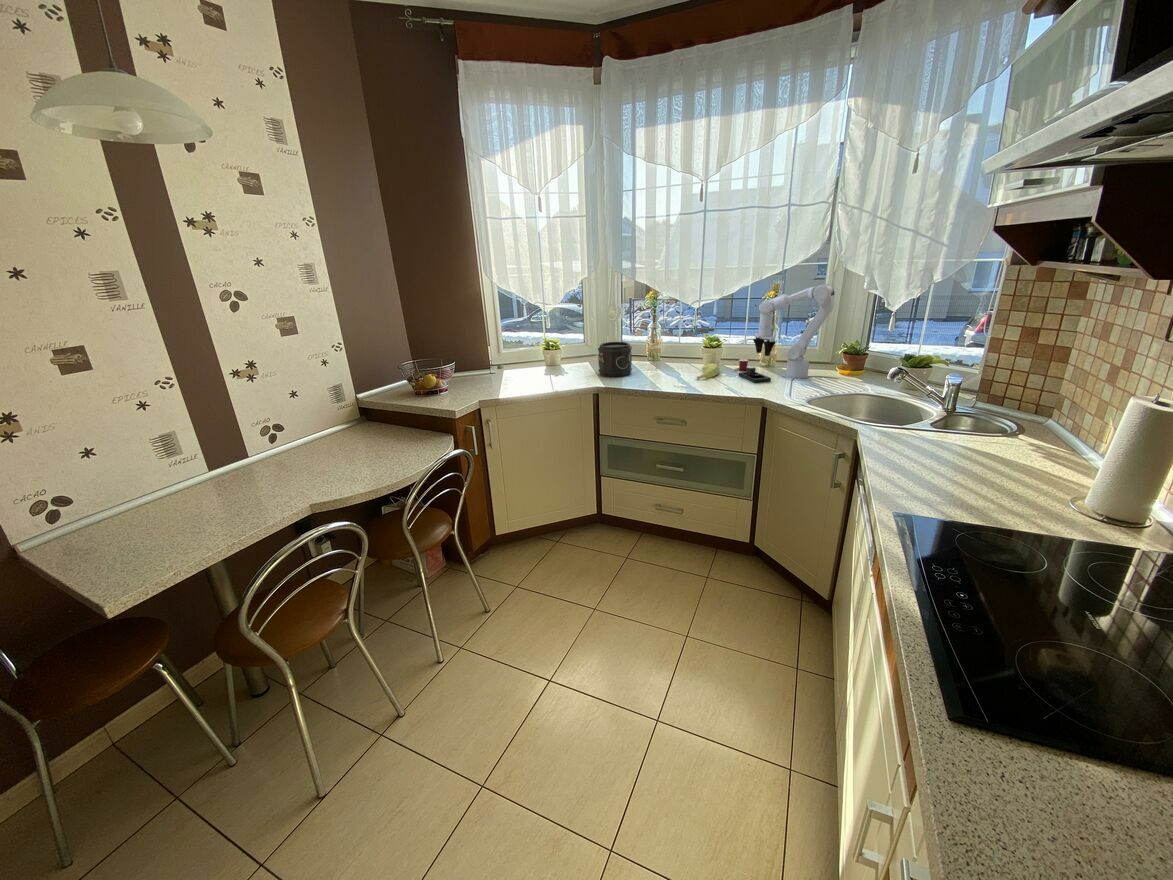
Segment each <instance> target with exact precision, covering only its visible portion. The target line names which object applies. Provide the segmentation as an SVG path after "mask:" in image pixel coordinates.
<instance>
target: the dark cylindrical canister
mask: <svg viewBox="0 0 1173 880" xmlns="http://www.w3.org/2000/svg"><path fill="white" fill-rule="evenodd" d="M632 349H633V347H632V345H631V344H630V343H629V342H626V341H607V342H602V343H600V345H599V347H598V348H597V351H598V354H597V356H598V361H597V362H598V368H599V369H598V372H599V373H600V375H601V376H602V377H604V378H605V377H606V378H623V377H627V376H629V375H630V374H631V371H633V367H632V362H633V359H632V358H633V355H632Z"/></svg>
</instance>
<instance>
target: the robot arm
mask: <svg viewBox="0 0 1173 880" xmlns="http://www.w3.org/2000/svg"><path fill="white" fill-rule="evenodd" d="M835 296H836V291H835V288H834V287H833V286H832V285H831V284H830V283H825V284H822V285H821V284H820V285H816V286H812V287H811V286H810V287H807V288H805V289H803V290H800V291H797V292H795V293H793V294H791V295H788V294H786V293H784V294H783V293H781V294H779V295H778V296H776V297H774V298H773V297H771V298H769V299H768V300H764V301H762V302H761V303H760V304H759V306H758V307H759V308H758V310H759V312H760V314H759V324H758V325H759V326H758V332H757V333H754V338H753V339H752V341H753V343H754V346H755V351H756V352H755V353H756V354H761V353H762V351H763V346H764V356H765V357H769V356H771V352H772V350H773V348H774V346H775V345H776V343H777V342H776V341H775V340H776V338H775V337H774V336H773V335H772V329H773V328H772V327H773V318H774V317H773V315H774V311H775V312H776V311H778V310H781V309H784V308H788V307H789V306H790V304H791V303H792V302H795V301H798V300H802V299H805V298H810V299H813V298H814V300H815V301H816V302H817V303H818V304H817V305H818V307H819V309H818V311H817V312H816V313H815V315H814V317H813V318H812V319H811V321H810V322H809V323H808V325H807V327H806V328H805V329H804V331H803V332H802V333H801V335H800V337H798V339H797V340H796V341H795V342H794V344H793V345H792V346H790V347H789V348H788V349H787V350H786V356H787V360H786V368H785V369H786V371H785V374H782V375H781V376H782V377H785V378H788V379H790V380H794V379H801V380H802V379H809V377H810V376H808V375H809V369H810V368H809V367H810V361H809V359H807V358H805V356H804V355H805V354H806V352H807V348H808V346H809V344H810V343H811V341H812V339H813V338H814V337H815V335H816V334H817V333H818V331H819V329H820V328H821V327H822V326H823V324H824V323H825V322H826V320H827V318H828V317H829V316H830V314H831V313H832V312H833V310H834V305H835V303H834V302H835Z"/></svg>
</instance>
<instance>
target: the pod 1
mask: <svg viewBox="0 0 1173 880" xmlns="http://www.w3.org/2000/svg"><path fill="white" fill-rule="evenodd" d="M738 361H739V364H738V368H739V370H741V371H745V370H747V366H749V364H748V363H749V359H748V358H741V359H739V360H738Z"/></svg>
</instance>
